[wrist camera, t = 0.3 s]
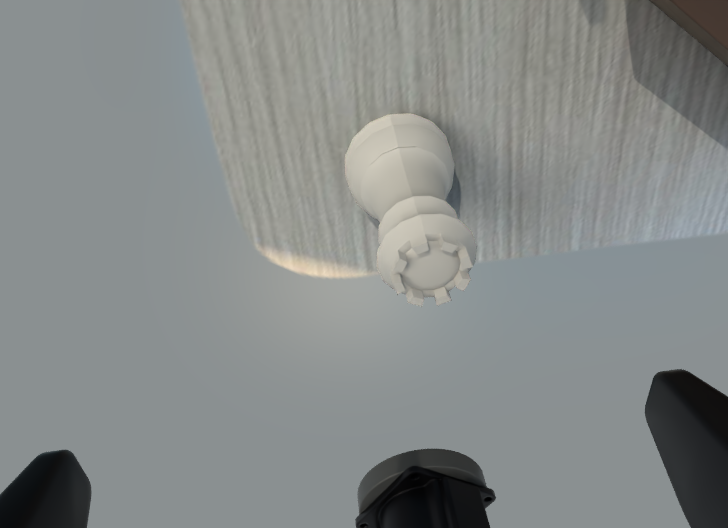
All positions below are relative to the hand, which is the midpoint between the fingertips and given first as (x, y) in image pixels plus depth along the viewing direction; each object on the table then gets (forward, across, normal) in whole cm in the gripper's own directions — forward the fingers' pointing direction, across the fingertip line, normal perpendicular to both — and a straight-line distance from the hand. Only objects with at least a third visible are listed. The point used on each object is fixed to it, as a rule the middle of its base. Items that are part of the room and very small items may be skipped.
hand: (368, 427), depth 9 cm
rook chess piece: (+17, -2, +4) cm, 17 cm away
